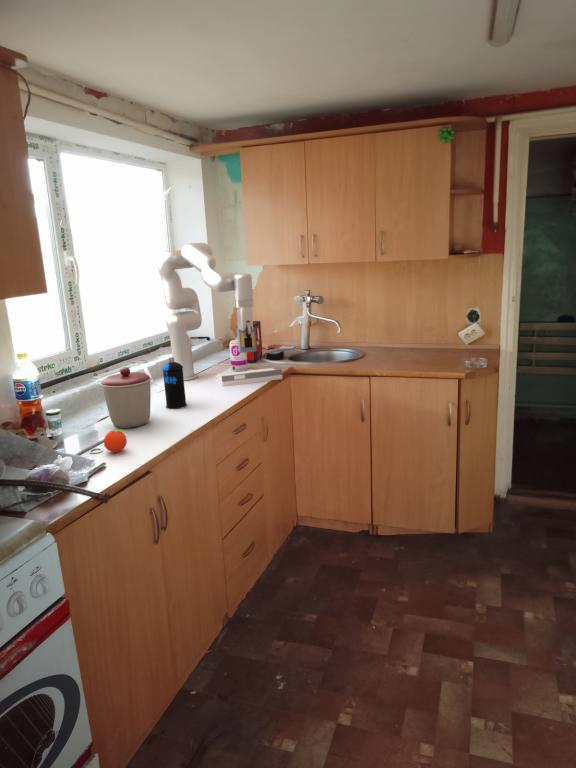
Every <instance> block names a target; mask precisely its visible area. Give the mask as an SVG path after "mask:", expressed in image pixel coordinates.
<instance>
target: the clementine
mask: <svg viewBox="0 0 576 768" xmlns="http://www.w3.org/2000/svg"><path fill="white" fill-rule="evenodd" d="M123 432H124V433H123ZM125 433H126V434H128V432H127V431H125V430H121V429H116V430H115V429H113V430H111V431H109V432H108V433H107V434H105V436H104V438H103V445H104V447H105V449H106V450H107V451H109V452H111V453H119V452H121V451H123V450H124V449H125V448H126V446H127V442H128V441H127V436H126V435H125Z"/></svg>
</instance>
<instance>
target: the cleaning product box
mask: <svg viewBox="0 0 576 768" xmlns="http://www.w3.org/2000/svg"><path fill="white" fill-rule="evenodd" d="M253 327H254V328H255V333H256V350H257V351H255V352H247V364H256V363H258V362H259V361H260V360H261V359H262V358H263V346H262V345H263V344H262V343H263V342H262V328H261V327H262V326H261V321H260V320H253ZM237 328H238V324H237V325H236V329H237Z"/></svg>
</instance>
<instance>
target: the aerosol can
mask: <svg viewBox="0 0 576 768" xmlns="http://www.w3.org/2000/svg"><path fill="white" fill-rule="evenodd" d="M168 360H169V361H168V363H166V364H164V365H163V366H162V368H161V370H162V374H163V384H164V385H163V386H164V394H165V395H164V396H165V403H166V406H165V408H167V409H169V410H171V409H172V410H177V409H183V408H185V407H187V405H188V404H187V402H186V401H187V400H186V388H185V381H184V378H183V366H182V365H181V364H179V363H176V362H174V357H172V356H169V357H168Z"/></svg>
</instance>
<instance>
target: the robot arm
mask: <svg viewBox="0 0 576 768" xmlns="http://www.w3.org/2000/svg"><path fill="white" fill-rule="evenodd" d="M216 266H217V261H216V258H215V257H214V256H213V249H212V247H211V246H210V245H209V244H208V243H206V242H189V243H186V244H184V245H183V246H182V248H181V249H176V250H175V249H173V250H167V251H164V252H162V253H161V254H160V255H159V256H158V259H157V269H158V274H159V275H160V278H161V281H162V286H163V287H162V289H163V293H164V299H165V302H166V307H167V308H168V309H170V310H171V311H172V310H174V311H175V310H184V311H179V312H177V311H176V312H174V313H171V314H170V315H168V316H167V318H166V328H167V332H168V334H169V340H170V348H171V357H174V362H176V363H179V364H181V365H182V366H183V378H184V382H185V381H191V380H195V379H197V378H198V377H199V376H198V375H199V374H198V373H196V372H195V368H194V360H193V348H192V341H191V338H190V336H189V335H188V333H187V332H191V331H196V330H198V329H200V327H201V326H202V320H203V319H202V314H201V307H200V306H201V305H200V301H199V296H198V294H197V292H196V290H194V289H193V288H192V287H183V285H182V279H181V278H180V276H179V274H178V273H177V271H176V270H181V269H182V270H184V269H191V268H194V269H196V271H198V272H200V275H201V279H202V281H203V283H204V284H205V285H206V286H207V287H209V289H211V290H213V291H215V292H218V293H226V292H232V291H233V292H234V302H235V308H237V310H236V312H237V313H236V316H237V318H236V319H237V320H236V321H237V325H238V328H239V329H241V331H243V330H244V334H245V338H244V343H245V348H247V347H252V335H251V331H252V330H253V321H254V320H253V310H252V308H253V307H254V295H253V294H254V292H253V291H254V289H253V280H252V279H253V277H252V274H250V273H247V272H246V273H243V272H242V273H238V272H226V273H218V272H216V271H215V268H216ZM251 328H252V330H251ZM245 329H247V331H245ZM246 332H247V333H246Z"/></svg>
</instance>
